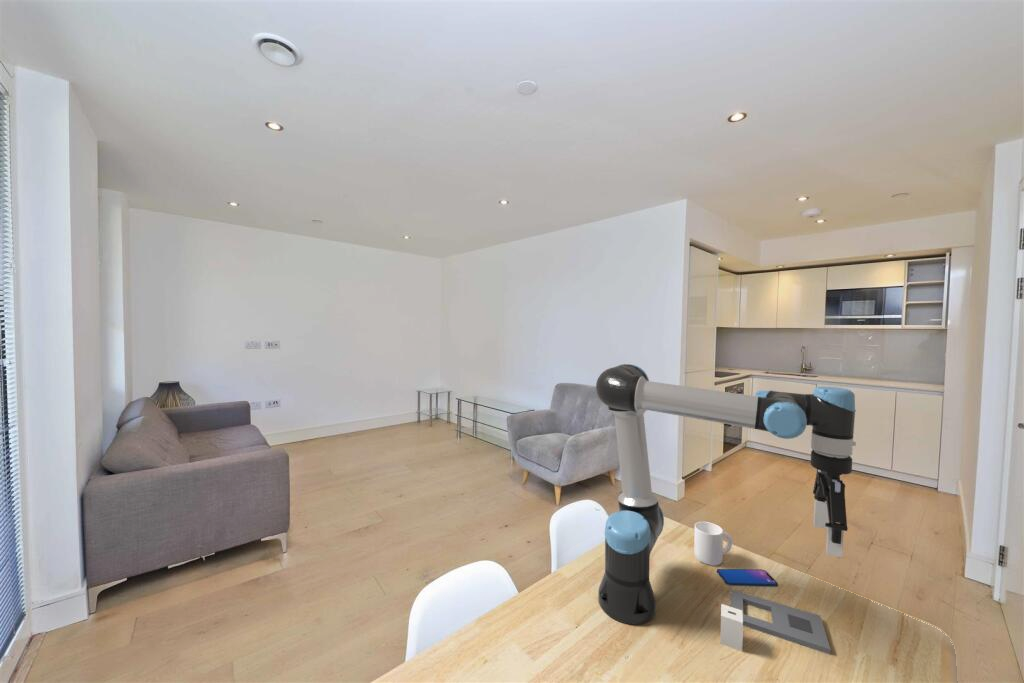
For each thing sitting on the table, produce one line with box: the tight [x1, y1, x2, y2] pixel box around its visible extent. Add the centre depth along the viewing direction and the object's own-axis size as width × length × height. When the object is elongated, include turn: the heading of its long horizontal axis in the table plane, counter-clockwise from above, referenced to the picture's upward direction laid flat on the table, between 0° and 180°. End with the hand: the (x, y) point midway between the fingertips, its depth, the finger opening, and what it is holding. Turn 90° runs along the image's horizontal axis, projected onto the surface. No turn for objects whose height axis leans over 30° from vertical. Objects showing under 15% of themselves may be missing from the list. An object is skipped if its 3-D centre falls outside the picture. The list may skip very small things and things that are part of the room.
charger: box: [719, 603, 744, 652], centre depth 93 cm, size 4×4×7 cm
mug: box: [693, 521, 733, 567], centre depth 125 cm, size 12×8×10 cm
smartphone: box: [716, 568, 779, 587], centre depth 116 cm, size 7×1×15 cm
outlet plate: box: [730, 588, 831, 655], centre depth 99 cm, size 20×12×1 cm, turn 60°
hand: (826, 540), depth 91 cm, fingers open, 13 cm apart
